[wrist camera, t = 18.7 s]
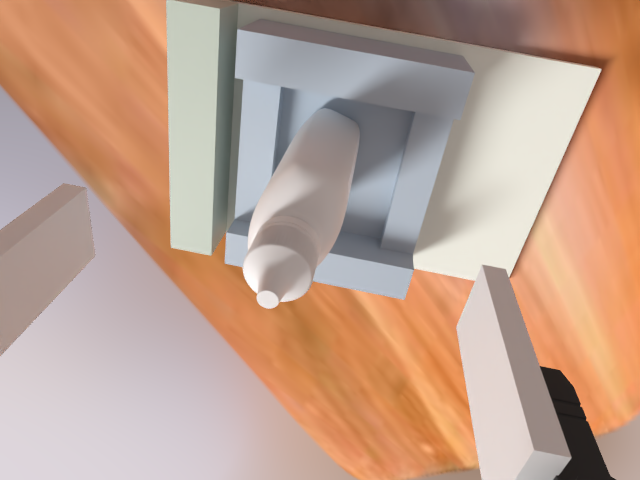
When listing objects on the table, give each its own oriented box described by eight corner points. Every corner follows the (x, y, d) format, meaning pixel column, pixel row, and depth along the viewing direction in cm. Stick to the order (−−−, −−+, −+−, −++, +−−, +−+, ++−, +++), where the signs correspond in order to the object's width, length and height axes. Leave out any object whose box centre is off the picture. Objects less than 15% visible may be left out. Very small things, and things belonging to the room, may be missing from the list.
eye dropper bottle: (388, 164, 25) (383, 311, 14) (302, 216, 27) (246, 375, 17) (339, 93, 23) (295, 201, 13) (253, 154, 25) (158, 288, 15)
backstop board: (194, -7, 24) (166, -1, 21) (596, 66, 23) (627, 83, 20) (192, 219, 30) (170, 247, 28) (503, 281, 30) (515, 317, 27)
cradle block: (260, 18, 23) (237, 29, 20) (462, 55, 23) (474, 72, 20) (244, 228, 30) (224, 263, 26) (403, 259, 29) (404, 299, 26)
